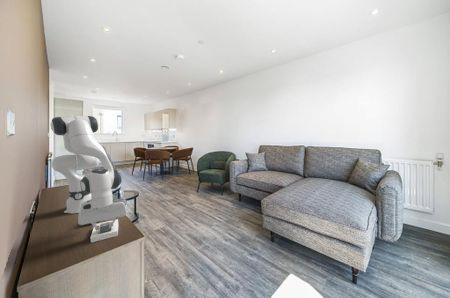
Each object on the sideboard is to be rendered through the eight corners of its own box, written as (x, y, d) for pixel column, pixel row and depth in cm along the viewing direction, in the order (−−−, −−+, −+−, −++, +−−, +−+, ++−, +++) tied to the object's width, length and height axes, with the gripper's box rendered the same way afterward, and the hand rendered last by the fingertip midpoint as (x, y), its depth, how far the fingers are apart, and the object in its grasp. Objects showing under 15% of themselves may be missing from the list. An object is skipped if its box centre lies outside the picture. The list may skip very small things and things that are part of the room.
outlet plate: (95, 228, 102) (94, 224, 101) (118, 223, 107) (118, 219, 107) (90, 242, 88) (90, 237, 87) (117, 235, 93) (117, 231, 93)
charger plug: (101, 234, 95) (100, 223, 95) (110, 232, 97) (109, 221, 96) (100, 238, 92) (99, 226, 91) (110, 236, 93) (108, 224, 93)
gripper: (125, 195, 101) (127, 220, 102) (78, 203, 91) (81, 231, 92) (126, 199, 95) (128, 225, 96) (75, 207, 85) (78, 236, 86)
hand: (104, 228), depth 94 cm, fingers open, 5 cm apart
